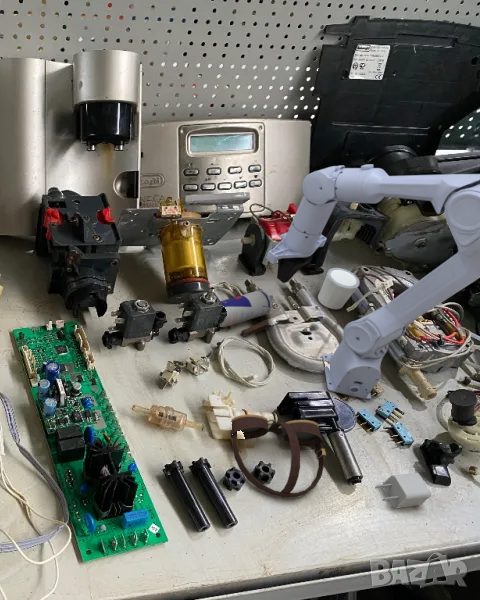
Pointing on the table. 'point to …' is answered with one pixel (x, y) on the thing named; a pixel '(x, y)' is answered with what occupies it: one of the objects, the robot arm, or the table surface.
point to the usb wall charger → (405, 490)
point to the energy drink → (246, 307)
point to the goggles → (292, 433)
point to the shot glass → (337, 288)
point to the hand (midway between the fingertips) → (282, 279)
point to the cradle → (255, 328)
